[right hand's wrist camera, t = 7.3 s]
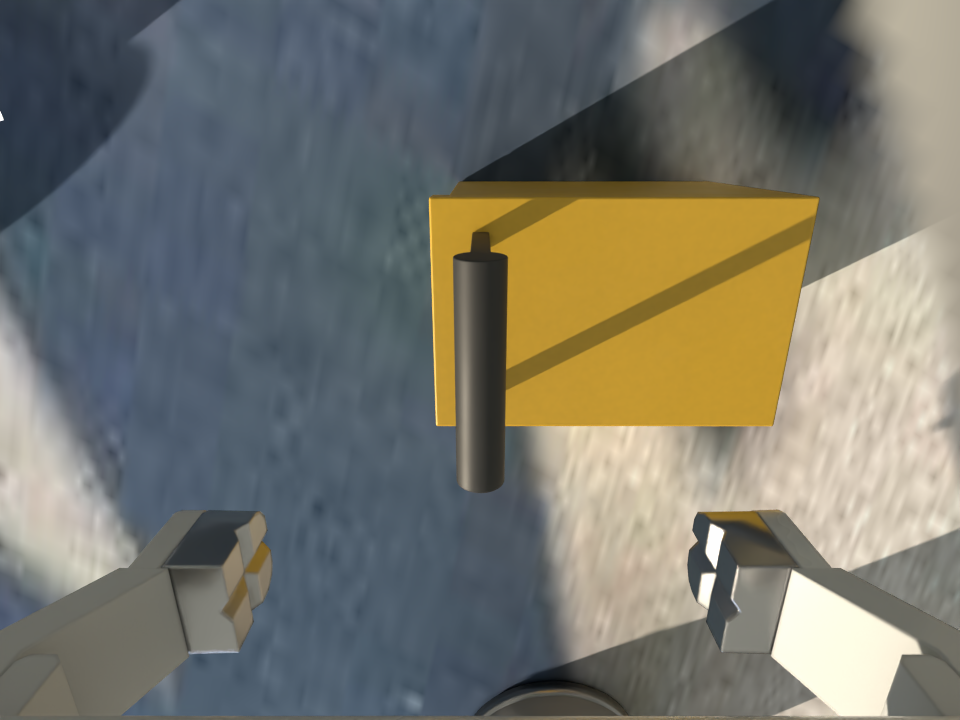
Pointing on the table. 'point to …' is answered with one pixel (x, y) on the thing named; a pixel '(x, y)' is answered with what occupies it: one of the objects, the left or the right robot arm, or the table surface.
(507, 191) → the chest
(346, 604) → the table surface
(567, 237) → the lid
